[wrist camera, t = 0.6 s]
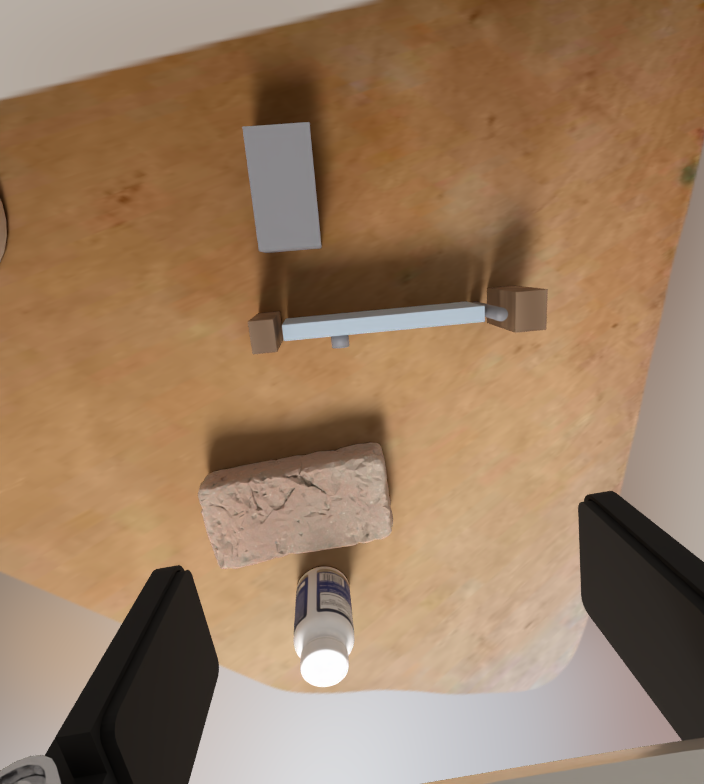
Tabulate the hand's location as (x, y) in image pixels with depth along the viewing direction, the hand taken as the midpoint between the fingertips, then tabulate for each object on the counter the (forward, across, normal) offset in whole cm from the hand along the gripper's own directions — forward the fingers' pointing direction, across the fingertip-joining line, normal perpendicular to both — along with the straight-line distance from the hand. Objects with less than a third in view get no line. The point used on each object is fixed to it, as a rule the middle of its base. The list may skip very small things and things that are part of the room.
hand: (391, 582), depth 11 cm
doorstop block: (+30, +3, -13) cm, 33 cm away
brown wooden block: (+31, -14, -2) cm, 34 cm away
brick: (+31, +7, +13) cm, 34 cm away
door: (+30, -4, -2) cm, 30 cm away
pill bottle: (+31, +6, +24) cm, 39 cm away
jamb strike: (+30, +6, -3) cm, 31 cm away
